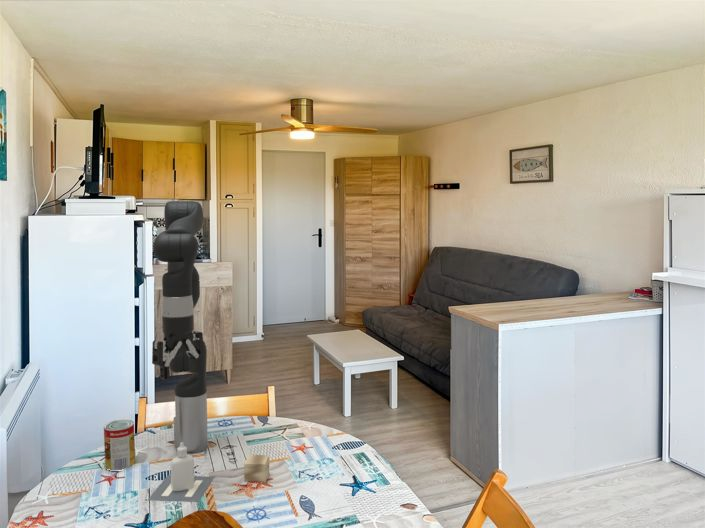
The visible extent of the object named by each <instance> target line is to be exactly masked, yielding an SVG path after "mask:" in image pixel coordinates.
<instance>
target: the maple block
mask: <svg viewBox="0 0 705 528" xmlns="http://www.w3.org/2000/svg"><path fill="white" fill-rule="evenodd" d="M243 473H244V475H243V477H244V478H243V481H244V482H259V483H262V485H265V484H266V483H267V480H268V478H269V476H270V454H269V455H268V454H248V456H247V458H246V460H245V462H244V464H243Z"/></svg>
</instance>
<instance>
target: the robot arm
mask: <svg viewBox="0 0 705 528" xmlns="http://www.w3.org/2000/svg"><path fill="white" fill-rule="evenodd" d="M163 211H164V213H163V214H164V215H163V216H164V217H163V218H164V228H165V230H163V231H161V232H160V233H158V234H157V236H156V237H155V239H154V241H153V245H152V251H153V254H154V256H155V258H156V259H157V260H158V261H159V262H162V263H167V272H165V273H163V275H162V279H161V286H162V300H161V301H162V302H161V320H162V322H161V325H162V332H163V335H164V336H163V339H161V340H157V339H156V340H155V339H154V340H153V341H152V348H151V349H152V354H151V355H152V356H151V357H152V358H151V363H152V365H155V366H159V377H160V379H161V381H163V382H169V381H170V375H171V374H170V372H172V373H175V374H176V373H186V372H189V373H190V374H192V375H190V376H188V377H187V378H185V379H183V380H180V381H178V382H177V383H176V384H175V386H174V404H175V405H174V406H175V407H174V408H175V409H174V411H175V416H174V417H173V440H174V441H173V443H174V444H173V445H174V446H173V447H174V449H175V450H176V451H177V448H178V447H180V443H181V442H183V444H184V446H185V447H187V455H192V454H198V453H201V452H203V451H206V449H207V448H208V447H209V444H208V443H209V441H208V438H209V437H208V433H209V432H208V431H209V430H208V403H207V402H208V400H207V399H208V397H207V394H208V393H207V392H208V390H207V358H208V357H207V356H208V353H207V352H208V350H207V345H206V342H205V341H204V337H203V336H204V334H203V332H202V331H197V330H196V331H194V329H195V327H194V326H195V325H194V324H195V322H194V321H195V319H194V317H195V316H194V310H195V307H196V305H197V303H198V301H199V300H200V297H201V296H200V295H201V294H200V293H201V289H200V288H201V287H200V283H201V282H200V274H199V271H198V270H197V268H196V266H195V262H196V259H197V255H198V251H199V241H198V239H197V238H196V235H197V234H198V233H199V231H201V229H202V228H203V224H204V210H203V207H202V204H201V203H200V202H199V201H195V200H169V201H166V203H165V205H164V210H163Z"/></svg>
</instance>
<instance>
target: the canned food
mask: <svg viewBox="0 0 705 528" xmlns="http://www.w3.org/2000/svg"><path fill="white" fill-rule="evenodd" d="M103 438H104V440H103V442H104V445H103V446H104V464H105V465H104V468H105V467H106V468H107V469H110V470H122V469H124V470H125V469H127V468H130V467H131V466H133V465H134V464H135V463H136V448H135V447H136V446H135V422H134V421H133V420H131V419H125V418H124V419H116V420H112V421H109V422H106V423H105V424H104V425H103Z"/></svg>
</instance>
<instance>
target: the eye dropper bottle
mask: <svg viewBox="0 0 705 528" xmlns="http://www.w3.org/2000/svg"><path fill="white" fill-rule="evenodd" d="M170 475H171V488H172V490H173V491H175V492H177V491H183V490H187V489H190V488H192V487H193V486H194V476H195V461H194V457H193V456H192V455H191V454H187V447H185V446H184V444H183V442H181V443H180V447H178V448H177V450H176V457H174V458H173V459H172V460H171V461H170Z"/></svg>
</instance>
